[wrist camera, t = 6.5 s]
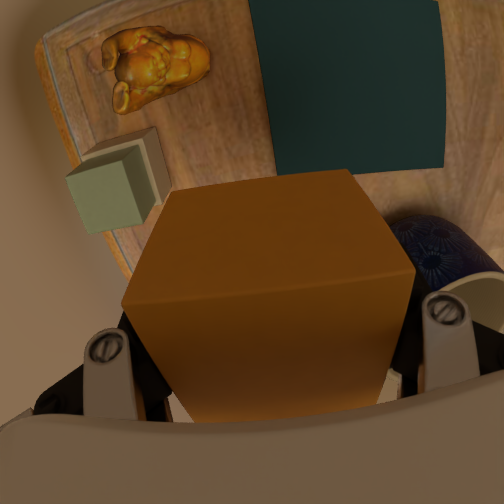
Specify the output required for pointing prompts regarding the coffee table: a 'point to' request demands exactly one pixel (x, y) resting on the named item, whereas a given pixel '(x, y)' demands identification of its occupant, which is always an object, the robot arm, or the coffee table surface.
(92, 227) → the middle block
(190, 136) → the coffee table surface
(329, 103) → the mat
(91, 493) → the robot arm
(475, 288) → the planter
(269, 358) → the top block
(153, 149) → the bottom block
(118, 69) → the figurine
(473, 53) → the coffee table surface
